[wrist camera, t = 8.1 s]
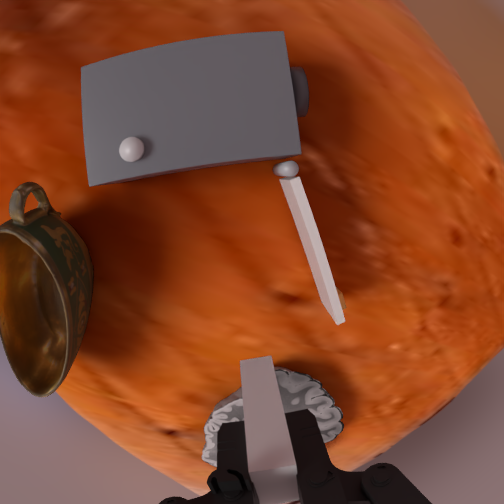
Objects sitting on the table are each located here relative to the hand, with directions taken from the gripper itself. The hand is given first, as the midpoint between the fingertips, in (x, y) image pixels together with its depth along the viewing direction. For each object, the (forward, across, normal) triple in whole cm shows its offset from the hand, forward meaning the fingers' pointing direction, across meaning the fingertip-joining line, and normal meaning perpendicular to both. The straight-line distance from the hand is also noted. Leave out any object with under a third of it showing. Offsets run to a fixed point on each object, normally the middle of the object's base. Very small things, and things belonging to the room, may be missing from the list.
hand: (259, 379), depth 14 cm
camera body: (+17, -2, +15) cm, 23 cm away
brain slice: (+17, 0, -21) cm, 27 cm away
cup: (+17, -20, +2) cm, 26 cm away
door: (+17, +6, +3) cm, 18 cm away
